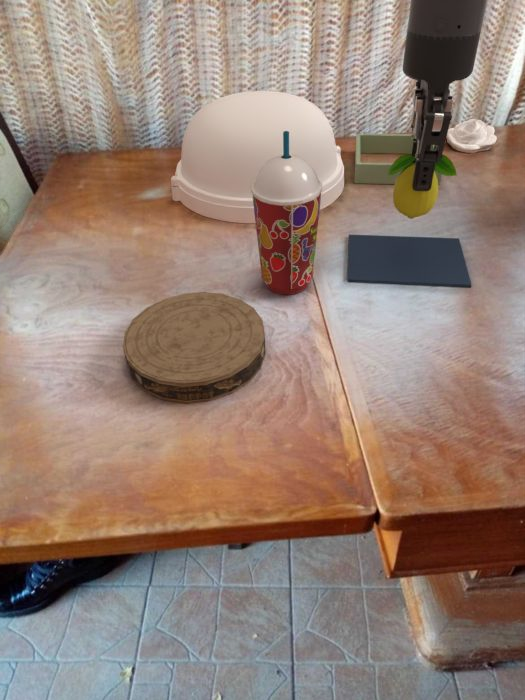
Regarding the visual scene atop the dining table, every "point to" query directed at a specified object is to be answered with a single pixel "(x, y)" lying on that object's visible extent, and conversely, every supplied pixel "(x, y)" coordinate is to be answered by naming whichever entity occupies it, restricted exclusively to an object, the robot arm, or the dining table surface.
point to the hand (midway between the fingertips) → (419, 179)
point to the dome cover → (251, 151)
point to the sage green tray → (381, 144)
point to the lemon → (403, 191)
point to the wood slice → (195, 347)
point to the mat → (407, 260)
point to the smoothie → (286, 220)
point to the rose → (471, 136)
